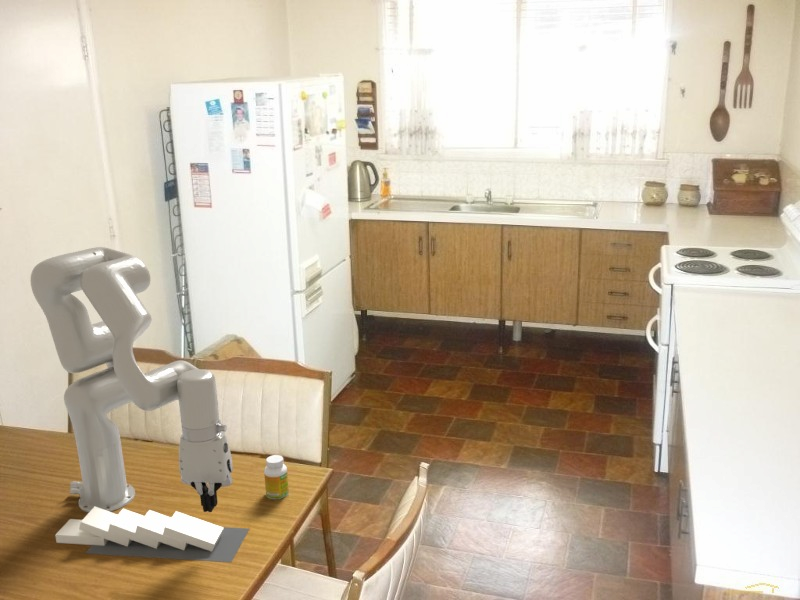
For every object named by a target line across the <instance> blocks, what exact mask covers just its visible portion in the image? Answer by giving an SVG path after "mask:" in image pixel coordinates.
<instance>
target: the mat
mask: <svg viewBox="0 0 800 600" xmlns="http://www.w3.org/2000/svg"><path fill="white" fill-rule="evenodd" d="M222 527H223V532H222V535H221V537H220V539H219V540H218V542H217V544H216V546H215V547H214V549H213V551H212V552H211V551H208V550H206V549H203V548H200V547H197V546H194V545H191V544H188V545H187V547H186V548H185V550H181V549H178V548H176V547H173V546H170V545H167V544H164V543H162V542H161V543H160V545H159V546H158V548H157V549H156V548H153V547H150V546H147V545H145V544H142V543H139V542H136V541H133V540H132V541H131V543H130V544H129V545H128V547H127V546H124V545H121V544H118V543H116V542H113V541H110V540H109V541H108V542H107V543H106V545H105V546H103V545H90V547H89V548H88V549H87V551H85V554H87V555H88V554H89V555H105V556H107V555H108V556H121V557H123V556H124V557H136V558H137V557H138V558H154V559H168V560H169V559H171V560H185V561H186V560H187V561H202V562H219V563H221V562H222V563H232V562H233V560H234V559H235V556H236V554H237V553H238V551H239V549H240V547H241V546H242V544H243V541H244V539H246V537H247V535H248V533H249V531H250V528H249V527H248V528H246V527H244V528H243V527H230V526H229V527H225V526H222Z"/></svg>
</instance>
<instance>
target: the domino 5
mask: <svg viewBox="0 0 800 600" xmlns="http://www.w3.org/2000/svg"><path fill="white" fill-rule="evenodd" d="M170 517H171V519H170V520H169V522H168V523H167V524H166V526H165V528H164V532H163V535H165V536H168V537H171V538H174V539H177V540H180V541H183V542H185V543H188V544H191V545H194V546H197V547H200V548H203V549H206V550H208V551H211V552H212V551H213V549H214V547H215V546H216V544H217V542H218V540H219V539H220V537H221V535H222V532H223V527H224V526H220V525H217V524H215V523H212V522H209V521H205V520H203V519H200V518H198V517H194V516H191V515H189V514H186V513H183V512H180V511H177V510H175V512H174V513H173V515H172V516H170Z"/></svg>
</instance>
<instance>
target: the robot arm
mask: <svg viewBox="0 0 800 600" xmlns="http://www.w3.org/2000/svg"><path fill="white" fill-rule="evenodd" d="M150 285H151V274H150V271H149V269H148V267H147V266H146V264H145V263H144V262H143V261H142V260H140V259H139V258H138V257H136V256H135V255H133V254H129V253H126V252H123V251H119V250H115V249H112V248H108V247H105V246H104V247H103V246H98V247H97V246H95V247H90V248H87V249H86V248H85V249H83V250H82V249H81V250H78V251H74V252H69V253H68V252H67V253H63V254H60V255H57V256H52V257H50V258H47V259H45V260H42V261H41V262H39V263H37V264H36V265H35V266H34V267H33V269H32V271H31V274H30V287H31V291H32V294H33V296H34V298H35V301H36V302H37V303H38V306H39V307H40V309H41V310H42V312H43V313H44V316H45V319H46V320H47V323H48V326H49V330H50V331H49V332H50V334H51V337H52V340H53V344H54V347H55V350H56V354H57V356H58V359H59V362H60V364H61V367H62V368H63V369H64V370H65V371H66V372H68V373H70V374H79V373H84V372H87V371H89V370H92V369H94V368H97V367H101V366H102V365H106V367H107V368H104V369H102V370H100V371H96V372H94V373H92V374H89V375H86V376H83V377H81V378H79V379H77V380H75V381H74V382H72V383H71V384H69V385H68V386H67V387H66V389H65V391H64V394H63V401H64V405H65V408H66V411H67V413H68V416H69V418H70V422H71V425H72V429H73V433H74V434H73V435H74V438H75V444H76V449H77V455H78V461H79V469H80V475H81V480H82V481H79V480H78V481H74V480H72V481H71V482H70V485H69V487H70V490H69V493H70V495H79V496H80V498H79V499H78V507H79V508H80V510H82V511H83V512H86V513H89V512H90V511H91V510H92V509H93V508H94V507H98V508H101V509H104V510H106V511H109V512H113V511H117V510H119V509H121V508H122V509H123V508H124V507H125V506H127V505H128V504H130V503H131V502H132V501H133V500H134V498H135V496H136V490H135V487H134V486H133V485H131V484H129V483H127V476H126V469H125V462H124V456H123V448H122V442H121V441H122V440H121V435H120V430H119V427H118V425H117V424H116V423H115V422H114V421H113V420H112V419H110V418H109V416H108V414H109V413H110V412H113V411H114V410H117V409H119V408H121V407H123V406H125V405H127V404H131V403H133V404H134V405H135V407H138V408H139V409H140V410H142V411H147V412H150V411H151V412H152V411H155V410H158V409H161V408H162V407H164V406H166V405H169V404H170V403H172V402H175V401H177V400H178V405H179V413H180V415H179V416H180V422H181V432H182V434H181V435H180V436H179V438H180V439H179V443H178V444H179V447H178V467H179V469H178V470H179V476H180V478H181V480H180V481H181V483H182V484H183V485H187V486H191V487H192V488H193V489H195V490H196V493H197V495H199V497H200V498H199V499H200V505H201V506H202V510H203V513H207V512H208V513H212V512H213V510H215V509H214V508H216V507H217V505H218V496H217V495H218V493H217V491H218V490H220V488H224V487H229V486H232V483H233V477H232V473H233V470H234V466H233V458H232V454H231V453H232V452H231V450H230V444H229V441H228V438H227V435H226V433H225V432H227V429H228V427H227V425H225V424H222V423H221V422H222V421H221V419H220V413H219V411H220V410H219V402H218V401H219V400H218V395H217V394H218V393H217V383H216V382H217V381H216V377H215V374H214V373H213V372H212V371H210V370H208V369H204V368H203V369H202V368H198V367H196V366H195V365H193V364H192V363H190V362H189V361H187V360H174V361H172V362H170V363H168V364H165V365H162V366H159V367H157V368H155V369H151V370H150V371H148V372H146V373H144V371H142V369H141V367H140V366H139V364H137V361H136V358H135V353H134V350H133V347H134V342H135V341H136V340H138V338H140V337H141V336H142V335H143V334H144V333H145V332H146V331H147V329H148V328H149V327H150V325H151V323H152V320H153V319H152V315H151V313H150V312H149V311H148V309H147V308H146V306H145V305H144V304H143V302H142V301H141V299H140V297H138V295H137V294H140V293H143V292H145V291H146V290H148V288H149V287H150ZM80 291H83V293H84V295H85V297H86V298H87V299H88V301H89V302H90V304H91V305H92V307H93V308H94V310H95V311H96V312H97V314H98V315H99V316H100V319H101V320H102V321H99V322H97V323H93V324H92V322H91V319H90V316H89V312H88V310H87V307H86V305H85V304H84V303H83V302H82V301H81V300H80V299H79V298H78V297H77V296H75V294H72V293H76V292H80Z"/></svg>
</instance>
